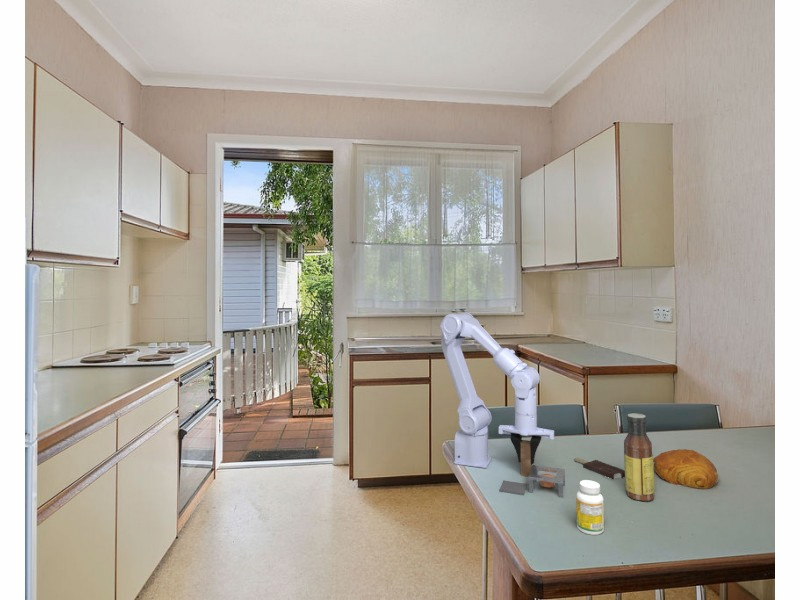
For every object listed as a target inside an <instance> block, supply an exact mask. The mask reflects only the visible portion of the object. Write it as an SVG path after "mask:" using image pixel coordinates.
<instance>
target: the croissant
mask: <svg viewBox="0 0 800 600" xmlns="http://www.w3.org/2000/svg"><path fill="white" fill-rule="evenodd" d="M653 468H654V472H655V473H656V474H657V475H658V477H660V478H661V479H663V480H665V481H666V482H667V483H669V484H673V485H676V486H679V485H682V486H684V487H688V488H694V489H701V490H707V489H711V488H712V487H714V485H716V484H717V482H718V477H719V474H718V471H717V468H716V466H715V465H714V463H713V462H712V461H711V460H710V459H709V458H707V457H706V456H705V455H703V454H701V453H699V452H697V451H696V450H693V449H686V448H685V449H684V448H683V449H682V448H681V449H672V450H668V451H664V452H661V453H659V454H658V455H657V456H654V457H653Z"/></svg>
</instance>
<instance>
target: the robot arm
mask: <svg viewBox="0 0 800 600" xmlns="http://www.w3.org/2000/svg"><path fill="white" fill-rule="evenodd" d="M439 327H440V331H441V336H440V337H441V340H440V342H441V343H440V345H441V349H442V352H443V355H444V358H445V362H446V365H447V368H448V371H449V374H450V378H451V379H452V382H453V386H454V389H455V391H456V394H457V397H458V401H459V404H458V407H457V415H458V421H457V422H458V423H457V424H458V426H459V429H456V432H455V436H454V461H453V464H454V465H461V466H469V467H475V468H482V469H483V468H484V469H485V468H486V469H487V468H488V466H489V464H490V462H491V460H492V459H493V458H492V457H491V456H489V443H488V442H489V437H488V436H489V430H488V428H489V427H488V426H490V425H491V422H492V419H493V417H492V414H491V411H490V410H489V409H488V408H487V407H486V405H485V401H484V400H483V399H481V398H480V397H479V396H478V395H477V392H476V388H475V385H474V382H473V379H472V375H471V374H470V371H469V367H468V365H467V362H466V359H465V356H464V353H463V350H462V343H464V341H465V338H471V339H473V340H475V342H476V343H478V344H479V345H480V346H481V347H482V348H483V349H484V350H486V351H487V352H488V353H489V354H490V355H491V356H492V358H493V359H492V360H493V363H494V365H495V366H496V367H497V368H499V369H500V370H501V371H502V372H503V373H504V374H505V375H506V376H507V377H508V378H509V379H510V384H511V385H512V388H513V389H514V425H509V424H508V425H505V424H504V425H503V424H499V426H498V434H499V435H504V434H505V435H510V442H511V443H512V445H513V447H514V450H515V453H516V457H517V460H518V461H517V462H518V463H519V464H521V441H522V440H523V436H524V437H531V438H530V440H529V441H530V442H531V464H532V465H535V464H534V463H535V459H536V452H537V450H538V447H539V445H540V443H541V441H542V438H543V439H549V440H553V441H554V439H555V430H554V429H549V428H548V429H547V428H541V427H538V412H537V411H538V409H537V408H538V407H537V405H538V404H537V403H538V399H537V396H538V395H537V385H539V383H540V378H541V377H540V374H539V372H538V371H537V370H536V368H535V367H532V366H528V364H527V362H523V360H521V359H520V358H519V357H518V356H517V355H516V352H515V350H514V349H510V348H508V347H502V346H501V345H500V344H499V343H498V342H497V341H496V340H495V339H494V337H492V336H491V334H490V333H488V331H487V330H486V329H485V328H484V327H483V326H482V325H481V324H480V321H479V320H478V318H475V317H474V316H473V315H472V314H471V313H469V312H467V311H466V312H461V313H449V314H446V315H445V316H444V317H443V319H442V321H441V323H440V325H439Z"/></svg>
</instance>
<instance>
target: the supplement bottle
mask: <svg viewBox="0 0 800 600" xmlns="http://www.w3.org/2000/svg"><path fill="white" fill-rule="evenodd" d="M575 497H576V499H575V501H576V503H575V505H576V513H575V515H576V519H575V520H576V522H575V523H576V524H575V525H576V528H577V529H578V530H579V531H581V532H582V533H583V534H586V535H592V536H598V535H601V534H603V532H604V530H605V529H604V528H605V524H604V523H605V522H604V521H605V519H604V515H605V514H604V513H605V512H604V511H605V510H604V506H605V505H604V500H605V499H604V496H603V495H602V494H601V485H600V483H598V481H594V480H591V479H590V480H589V479H583V480H580V482H579V490H578V491H577V492H576V496H575Z"/></svg>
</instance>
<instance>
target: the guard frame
mask: <svg viewBox="0 0 800 600" xmlns="http://www.w3.org/2000/svg"><path fill="white" fill-rule="evenodd" d="M565 470H566V469H565V468H557V467H550V466H544V465H536V464H532V468H531V472H530V475H529V477H528V492H529V493H530V494H534V491H535V488H534V487H535V485H534V483H536V482H537V481H539V482H540V481H547V482H554V484H558V498H563V499H564V487H565V486H566V485H565V484H566V483H565V482H566V481H565V480H566V479H565V477H566V475H565ZM539 471H541V472H547V473H548V472H549V473H556V475H555V476H554V477H548V476H541V475H542V474H540V475H539Z"/></svg>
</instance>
